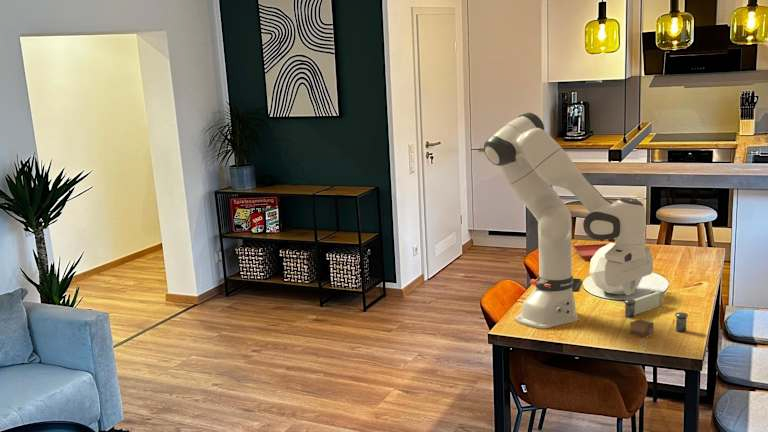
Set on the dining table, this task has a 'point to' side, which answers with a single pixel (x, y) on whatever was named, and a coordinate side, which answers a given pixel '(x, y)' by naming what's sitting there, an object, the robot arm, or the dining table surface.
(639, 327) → the walnut block
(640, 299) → the bar
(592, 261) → the geometric orb
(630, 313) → the gate posts
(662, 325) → the dining table surface
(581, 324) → the dining table surface
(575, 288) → the phone
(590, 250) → the plant saucer
